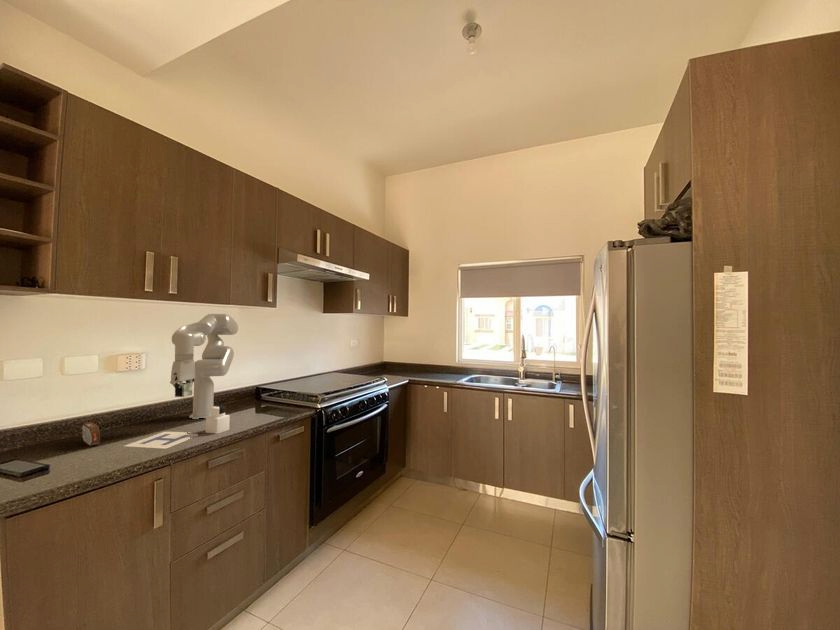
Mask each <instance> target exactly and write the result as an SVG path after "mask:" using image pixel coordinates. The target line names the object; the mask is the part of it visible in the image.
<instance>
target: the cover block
mask: <svg viewBox="0 0 840 630" xmlns="http://www.w3.org/2000/svg"><path fill="white" fill-rule="evenodd" d="M181 388H182V396H175V395H174V397H175V398H186V397H190V396H193V388H194V382H193V383H186V382H182V386H181ZM175 390H176V388H174V391H175Z"/></svg>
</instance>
